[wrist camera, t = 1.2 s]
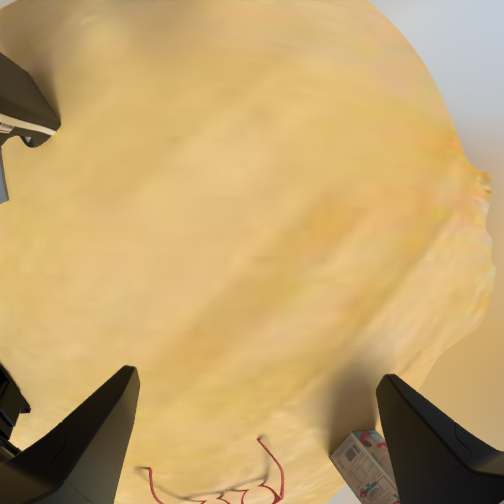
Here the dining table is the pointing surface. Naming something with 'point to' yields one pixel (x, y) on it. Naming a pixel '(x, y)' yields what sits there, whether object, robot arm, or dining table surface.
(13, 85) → the battery charger
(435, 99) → the dining table surface
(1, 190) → the mat
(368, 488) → the juice carton
